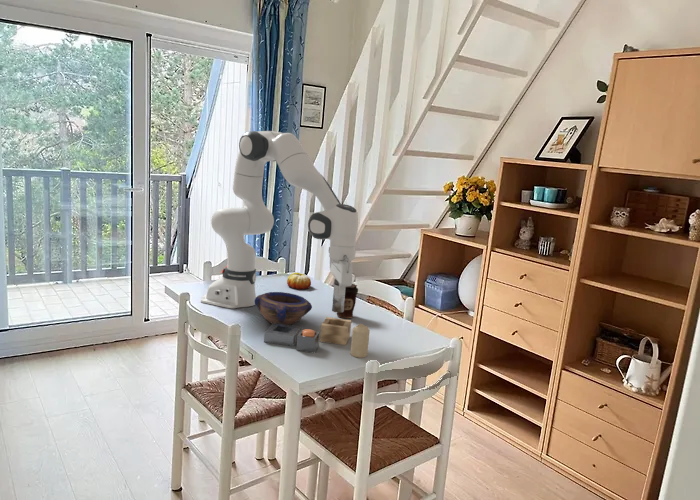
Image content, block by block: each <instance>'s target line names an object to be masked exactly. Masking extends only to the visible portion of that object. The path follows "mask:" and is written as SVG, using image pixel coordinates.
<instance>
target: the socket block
mask: <svg viewBox="0 0 700 500" xmlns="http://www.w3.org/2000/svg"><path fill="white" fill-rule="evenodd" d="M301 330H302V326H299V325H293V324H291V325H286V324H279V323H273V324H272V323H271V325H270V326H269V327H268V328H267V329H266V330H265V331H263V333H264V334H263V335H264V336H263V343H268V344H274V343H275V344H276V345H281V344H282V345H283V346H288V345H290V347H294V346H295V344H297V336H298V334H299V333H300V332H301Z"/></svg>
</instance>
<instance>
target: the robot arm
mask: <svg viewBox="0 0 700 500" xmlns="http://www.w3.org/2000/svg"><path fill="white" fill-rule="evenodd" d="M238 146H239V151H238V154H237V158H236V161H235V166H234V173H233V184H232V191H233V193H234V195H235V196H236V197H238V198H239V199H240V200H242V201H243V207H224V208H220V209H216V210H215V211H214V212H213V214H212V216H211V220H210V221H211V223H210V224H211V228H212V229H213V231H214V232H215V234H217V235H218V236H219V237H221V239H222V240H223V242H224V244H225V246H226V254H227V255H226V256H227V258H226V259H227V260H226V261H227V265H226V266H225V267H224V268H223V269H221V272H220V274H222V275H221V276H220V277H218V278H217V279H216V280H214V281H213V282H211V283H210V284H209V286H208V288H207V291H206V293H205V294H203V295H202V296H201V297H200V302H201V303H202V304H208V305H212V306H217V307H223V308H226V309H227V308H228V309H236V308H237V309H238V308H247V307H252V306H256V305H255V299H256V297H257V295H256V294H257V293H256V279H257V269H256V255H257V253H256V249H255V248H254V247H253V246H252V245H251V244H249V243H246V241H245V236H251V235H253V236H254V235H262V234H266V233H269V232H270V231H271V230H272V229H273V226H274V222H275V218H274V215H273V213H272V212H271V210H270V209H268V207H267V206H266V205H265V202H264V199H263V181H264V172H265V167H266V166H265V165H266V164H267V162H276V163H277V166H278V169H279V170H280V172H281V175H282V177H283V178H284V179H285V180H286V182H287V183H288V184H290V185H291V186H293V187H295V188H299V189H302V190H305V191H306V192H309V193H311V194H312V195H314V196H315V197H316V198H317V200H318V201H319V203H320V205H321V206H322V207H323V209H324V210H321V211H318V212H314V213H312V214H311V215H310V216H309V219H308V222H307V223H308V224H307V229H308V232H309V234H310V235H311V237H313V238H314V239H316V240H329V242H330V243H329V247H328V257H329V271H330V273H331V275H332V277H334V279H336V280H337V281H338V282H339V289H338V294H339V295H344V290H345V287H346V286H351V285H352V284H353V275H354V274H353V273H354V272H353V271H354V270H353V269H354V267H353V263H352V261H354V260H355V259H356V253H357V252H356V250H357V240H356V237H357V235H358V227H359V217H358V216H359V215H358V211H357V209H356V208H355V207H354V206H351V205H349V204H345V203H341V201H340V200H339V198H338V196H337V195H336V193H335V192H334V190H333V189H332V188H331V186H330V184H329V183H328V181H327V179H326V178H325V177H324V176H323V175H322V174H321V173H320V172H319V170H318V169H317V168H316V166H315V165H314V164H313V162H312V161H311V159H310V157H309V155H308V153H307V151H306V149H305V148H304V146H303V145H302V143H301V142H300V140H299V138H297V136H295V134H294V133H291V132H281V131H279V132H278V131H273V130H262V131H261V130H259V131H256V130H251V131H246V132H245V133H243V134H242V135H241V136H240V139H239V143H238Z"/></svg>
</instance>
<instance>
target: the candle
mask: <svg viewBox="0 0 700 500" xmlns="http://www.w3.org/2000/svg"><path fill="white" fill-rule="evenodd" d="M369 340H370V329H369V327H368V326H367V325H364V324H363V323H359V324H357V325H355V326H354V327H352V332H351V344H350V345H351V346H350V355H351V356H352V357H354V358H359V359H362V358H366V357H367V356H368V352H369V343H370V341H369Z"/></svg>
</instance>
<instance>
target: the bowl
mask: <svg viewBox="0 0 700 500" xmlns="http://www.w3.org/2000/svg"><path fill="white" fill-rule="evenodd" d="M254 306H256V307H257V309H258V311H259V312H260V314H261V315H262V316H263V318H264V319H265V320H266V321H268V323H270V324H271V325H272V324H273V323H279V324H286V325H293V324H295V323H297V322H298V321H300V320H301V319H302V318H303V317H305V316H306V315H307V314H308V313H309V312H310V311H311V310H312V308H313V306H312V303H311V302H310V301H309V300H308V299H306V298H304V297H303V296H300V295H298V294H295V293H289V292H283V291H270V292H265V293H262V294H259V295H256V299H255V305H254Z"/></svg>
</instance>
